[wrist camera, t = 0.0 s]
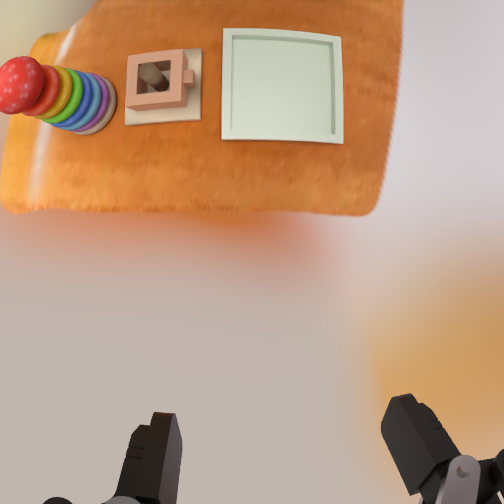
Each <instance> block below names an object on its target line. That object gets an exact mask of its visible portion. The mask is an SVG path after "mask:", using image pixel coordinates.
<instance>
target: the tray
mask: <svg viewBox="0 0 504 504" xmlns="http://www.w3.org/2000/svg"><path fill="white" fill-rule="evenodd" d="M222 140H273V141H300V142H317V143H331V144H343V75H342V54H341V38H340V37H338V36H331V35H325V34H318V33H310V32H301V31H290V30H277V29H257V28H223V61H222Z"/></svg>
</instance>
